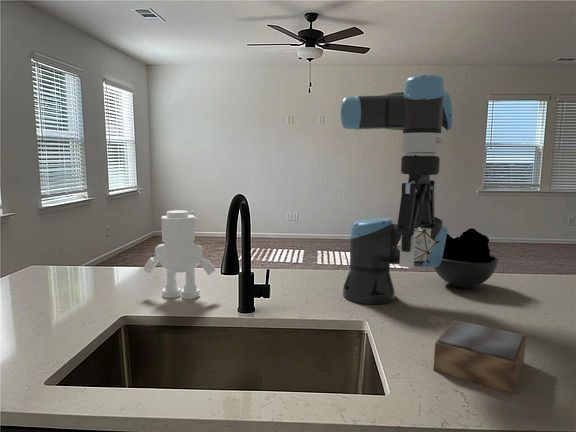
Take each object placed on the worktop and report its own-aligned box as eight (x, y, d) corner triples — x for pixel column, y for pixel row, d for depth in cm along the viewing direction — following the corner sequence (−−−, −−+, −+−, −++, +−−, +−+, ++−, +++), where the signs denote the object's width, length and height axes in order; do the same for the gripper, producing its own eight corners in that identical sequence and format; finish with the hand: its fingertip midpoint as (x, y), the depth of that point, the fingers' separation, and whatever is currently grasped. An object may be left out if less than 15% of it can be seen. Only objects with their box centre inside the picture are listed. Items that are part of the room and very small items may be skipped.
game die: (422, 281, 89) (443, 251, 82) (384, 265, 90) (402, 234, 83) (427, 253, 95) (447, 223, 89) (392, 239, 97) (409, 208, 90)
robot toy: (221, 291, 130) (220, 210, 127) (210, 303, 119) (209, 215, 115) (152, 288, 132) (150, 208, 129) (135, 300, 121) (132, 213, 118)
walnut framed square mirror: (433, 370, 83) (435, 340, 82) (452, 344, 94) (453, 318, 93) (514, 393, 75) (517, 361, 74) (523, 362, 86) (526, 334, 85)
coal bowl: (505, 286, 138) (509, 229, 136) (480, 300, 124) (485, 237, 122) (446, 274, 152) (449, 222, 150) (417, 285, 138) (420, 228, 136)
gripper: (421, 154, 76) (415, 276, 79) (453, 155, 94) (447, 254, 97) (381, 154, 80) (377, 270, 83) (419, 155, 98) (414, 250, 101)
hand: (414, 261), depth 90 cm, fingers closed on game die, 10 cm apart
